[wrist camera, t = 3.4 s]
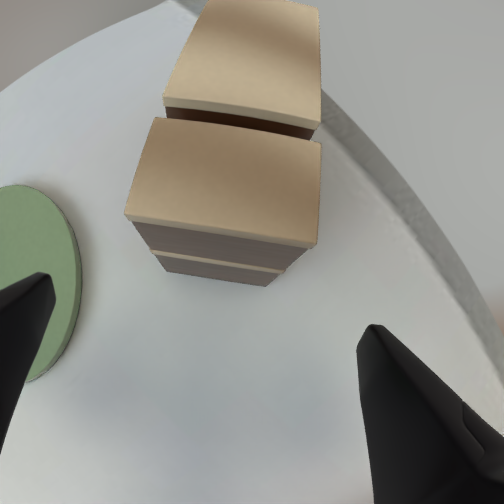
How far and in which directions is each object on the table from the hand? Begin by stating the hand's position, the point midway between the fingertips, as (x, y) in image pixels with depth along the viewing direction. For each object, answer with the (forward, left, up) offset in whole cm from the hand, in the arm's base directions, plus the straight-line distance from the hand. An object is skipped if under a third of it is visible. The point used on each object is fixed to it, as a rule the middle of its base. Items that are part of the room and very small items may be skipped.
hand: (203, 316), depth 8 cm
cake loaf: (+12, -4, -11) cm, 17 cm away
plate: (+5, +15, -11) cm, 20 cm away
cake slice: (+5, -2, -11) cm, 12 cm away
